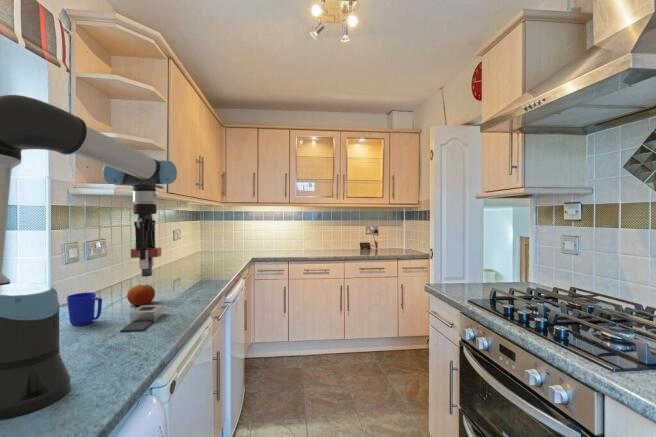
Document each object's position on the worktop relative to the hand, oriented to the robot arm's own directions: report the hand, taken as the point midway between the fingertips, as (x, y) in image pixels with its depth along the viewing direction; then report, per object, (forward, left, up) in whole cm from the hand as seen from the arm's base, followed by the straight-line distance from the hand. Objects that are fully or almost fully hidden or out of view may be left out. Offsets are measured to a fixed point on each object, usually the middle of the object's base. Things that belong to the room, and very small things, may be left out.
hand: (146, 267), depth 127 cm
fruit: (+21, +10, -19) cm, 30 cm away
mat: (-10, 0, -19) cm, 21 cm away
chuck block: (0, 0, -19) cm, 19 cm away
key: (0, 0, -3) cm, 3 cm away
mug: (-3, +19, -19) cm, 27 cm away
